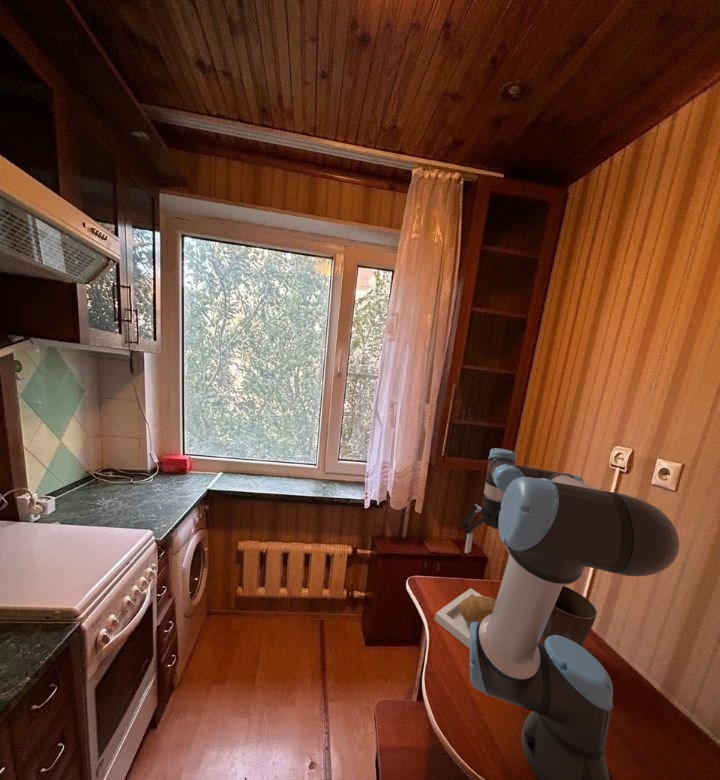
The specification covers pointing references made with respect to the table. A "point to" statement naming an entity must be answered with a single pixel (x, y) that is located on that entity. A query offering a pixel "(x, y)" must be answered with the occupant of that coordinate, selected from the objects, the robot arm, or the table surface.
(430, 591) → the table surface
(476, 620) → the potato
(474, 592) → the white rimmed tray
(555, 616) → the plant pot
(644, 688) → the table surface
